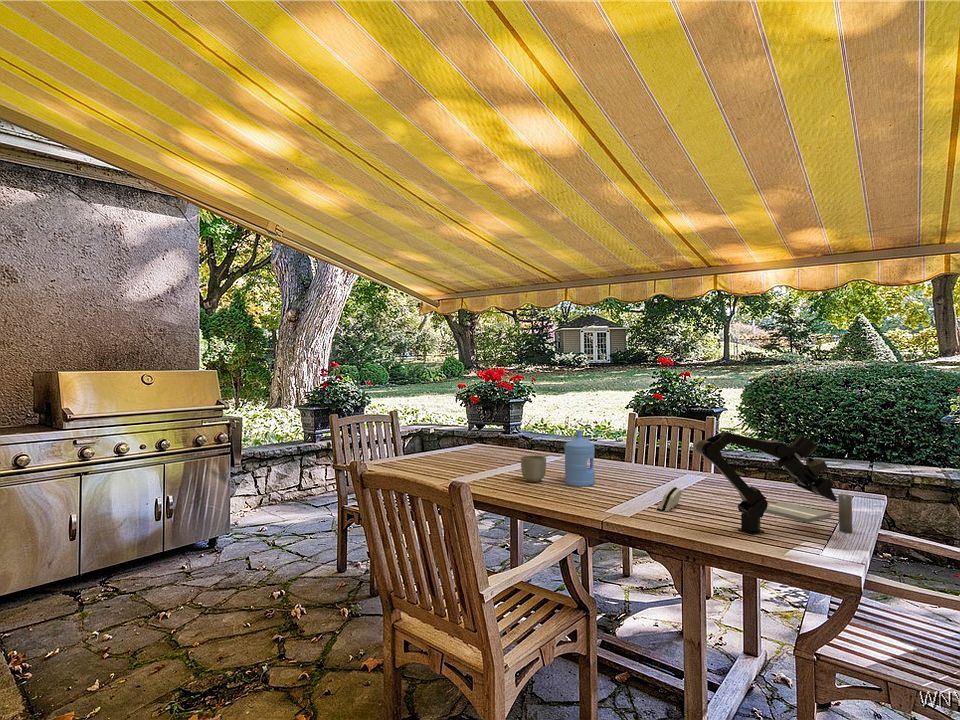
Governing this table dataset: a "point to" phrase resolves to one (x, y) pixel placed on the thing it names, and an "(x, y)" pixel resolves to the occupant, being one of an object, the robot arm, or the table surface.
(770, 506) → the board
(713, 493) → the table surface
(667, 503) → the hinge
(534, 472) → the planter
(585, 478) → the water jug
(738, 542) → the table surface
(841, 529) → the bottle
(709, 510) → the table surface
